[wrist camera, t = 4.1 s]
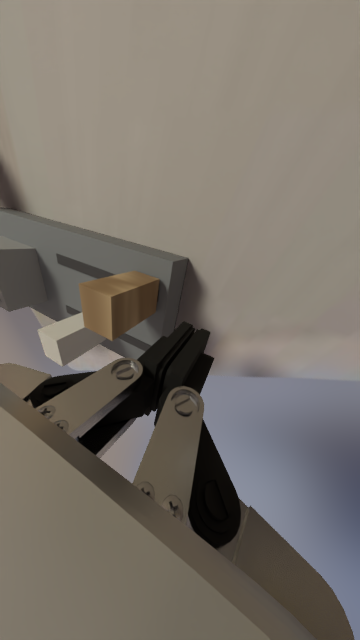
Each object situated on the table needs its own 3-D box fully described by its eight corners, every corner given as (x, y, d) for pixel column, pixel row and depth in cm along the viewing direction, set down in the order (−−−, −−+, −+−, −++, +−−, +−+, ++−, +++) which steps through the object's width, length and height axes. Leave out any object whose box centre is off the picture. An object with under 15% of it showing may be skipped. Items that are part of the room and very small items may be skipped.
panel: (188, 258, 14) (138, 269, 9) (168, 357, 20) (131, 403, 15) (11, 208, 22) (-80, 197, 16) (34, 292, 28) (-25, 306, 22)
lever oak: (159, 278, 13) (110, 297, 9) (155, 312, 14) (112, 341, 10) (134, 270, 13) (78, 283, 9) (133, 303, 15) (84, 326, 11)
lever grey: (104, 317, 18) (56, 340, 13) (106, 339, 19) (62, 366, 15) (88, 309, 18) (37, 329, 14) (90, 331, 20) (45, 355, 16)
